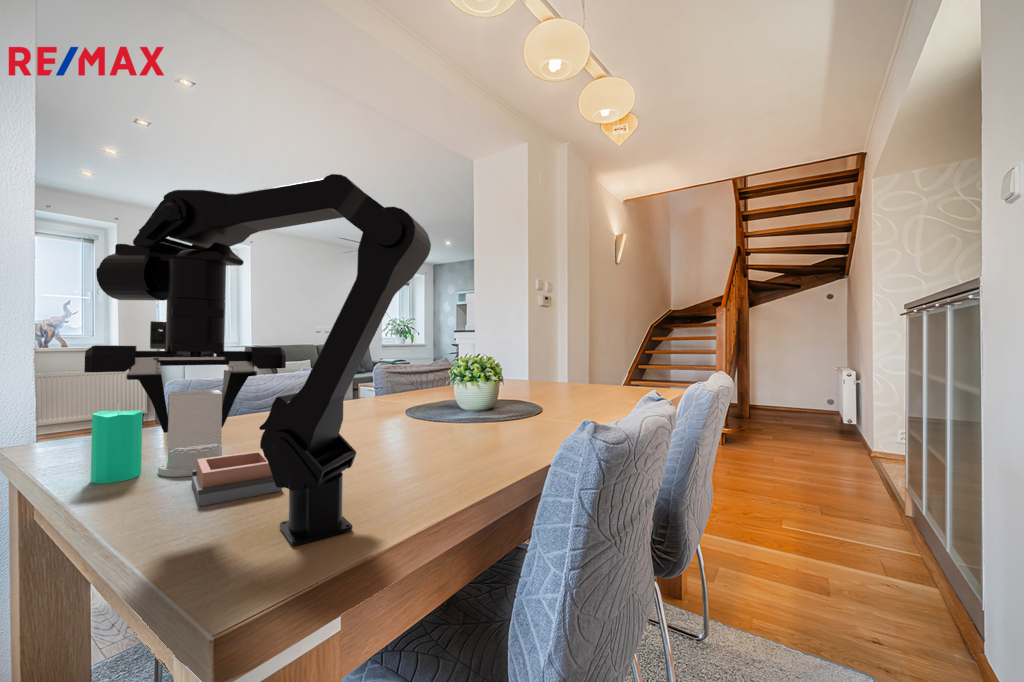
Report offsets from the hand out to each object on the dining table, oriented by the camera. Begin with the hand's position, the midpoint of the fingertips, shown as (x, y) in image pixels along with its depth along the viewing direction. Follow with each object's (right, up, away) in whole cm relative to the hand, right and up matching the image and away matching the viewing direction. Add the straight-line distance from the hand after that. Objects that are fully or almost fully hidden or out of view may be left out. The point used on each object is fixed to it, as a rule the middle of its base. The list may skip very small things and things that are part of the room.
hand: (194, 429), depth 52 cm
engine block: (0, -2, 0) cm, 2 cm away
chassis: (-3, -11, +13) cm, 17 cm away
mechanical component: (-16, -12, +22) cm, 30 cm away
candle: (-25, -11, +17) cm, 32 cm away
